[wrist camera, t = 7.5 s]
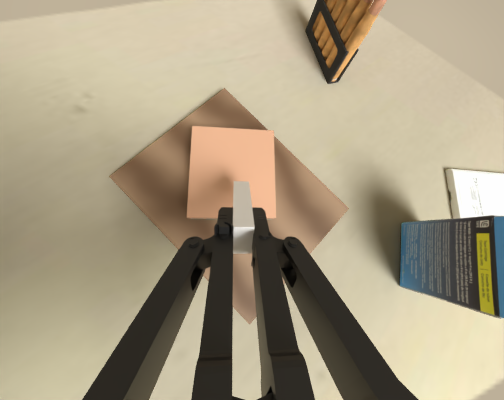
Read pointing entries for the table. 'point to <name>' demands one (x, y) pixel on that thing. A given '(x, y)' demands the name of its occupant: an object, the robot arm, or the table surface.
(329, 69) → the ammunition clip
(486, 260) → the label tape box
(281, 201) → the board
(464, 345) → the table surface
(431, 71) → the table surface
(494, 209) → the external hard drive
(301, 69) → the table surface
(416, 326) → the table surface
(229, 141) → the tile
